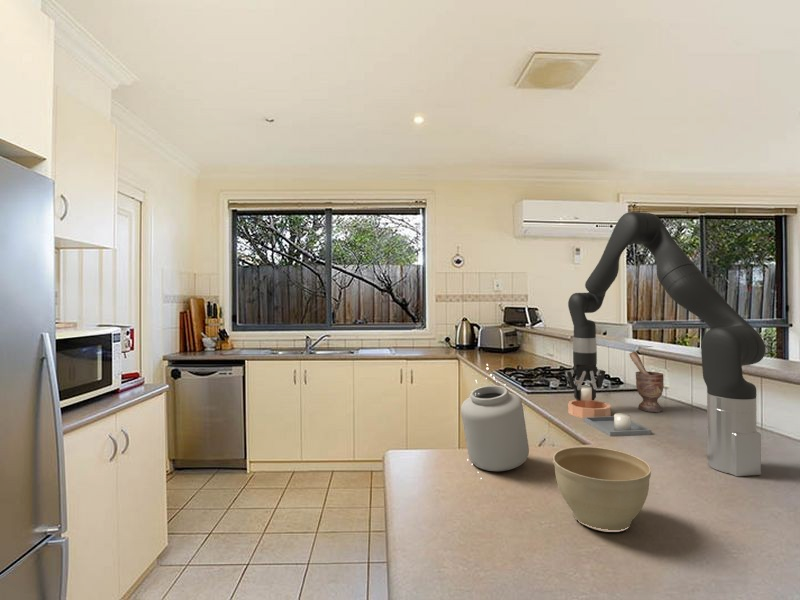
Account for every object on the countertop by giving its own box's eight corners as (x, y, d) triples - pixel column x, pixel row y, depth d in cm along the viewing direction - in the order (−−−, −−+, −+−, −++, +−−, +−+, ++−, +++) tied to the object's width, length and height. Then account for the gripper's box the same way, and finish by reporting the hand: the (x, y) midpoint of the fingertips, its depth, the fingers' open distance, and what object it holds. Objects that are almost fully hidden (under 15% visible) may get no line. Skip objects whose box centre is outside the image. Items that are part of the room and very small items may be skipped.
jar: (492, 487, 93) (491, 371, 93) (443, 467, 105) (442, 364, 105) (541, 464, 106) (540, 362, 105) (492, 448, 117) (491, 356, 117)
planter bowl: (569, 492, 91) (569, 440, 91) (658, 516, 80) (658, 458, 80) (540, 524, 78) (539, 464, 78) (641, 557, 68) (640, 488, 68)
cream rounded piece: (634, 432, 126) (634, 417, 126) (619, 433, 125) (619, 417, 125) (625, 428, 130) (625, 413, 130) (611, 428, 130) (611, 413, 130)
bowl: (618, 420, 141) (618, 408, 141) (580, 422, 140) (580, 409, 140) (597, 410, 154) (597, 398, 154) (562, 411, 153) (561, 400, 153)
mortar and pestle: (623, 408, 156) (622, 352, 156) (631, 403, 162) (631, 350, 162) (659, 414, 148) (658, 355, 147) (667, 409, 154) (666, 353, 153)
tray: (651, 437, 124) (651, 430, 124) (610, 438, 123) (610, 431, 123) (620, 422, 139) (620, 415, 139) (583, 423, 138) (583, 417, 138)
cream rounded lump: (594, 401, 147) (594, 387, 147) (582, 401, 147) (581, 388, 147) (587, 398, 152) (587, 385, 152) (575, 398, 151) (575, 385, 151)
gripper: (569, 352, 145) (570, 403, 145) (610, 351, 146) (611, 402, 146) (559, 349, 152) (560, 398, 153) (598, 348, 154) (599, 396, 154)
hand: (585, 399), depth 149 cm, fingers closed on cream rounded lump, 4 cm apart
